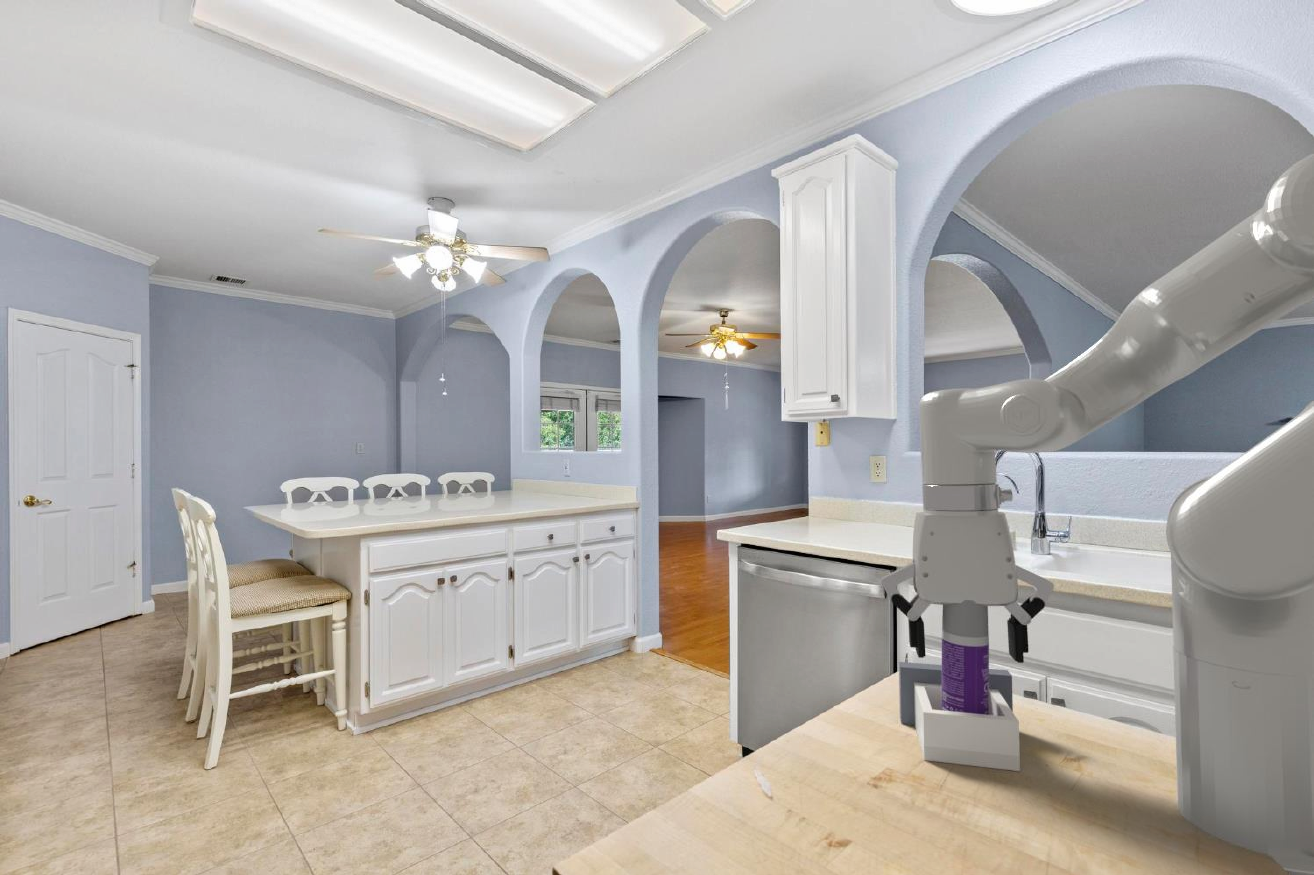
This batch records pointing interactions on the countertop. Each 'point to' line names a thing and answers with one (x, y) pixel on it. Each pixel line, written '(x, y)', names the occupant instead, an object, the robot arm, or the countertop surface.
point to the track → (933, 675)
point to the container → (965, 658)
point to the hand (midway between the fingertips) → (967, 656)
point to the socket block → (966, 731)
